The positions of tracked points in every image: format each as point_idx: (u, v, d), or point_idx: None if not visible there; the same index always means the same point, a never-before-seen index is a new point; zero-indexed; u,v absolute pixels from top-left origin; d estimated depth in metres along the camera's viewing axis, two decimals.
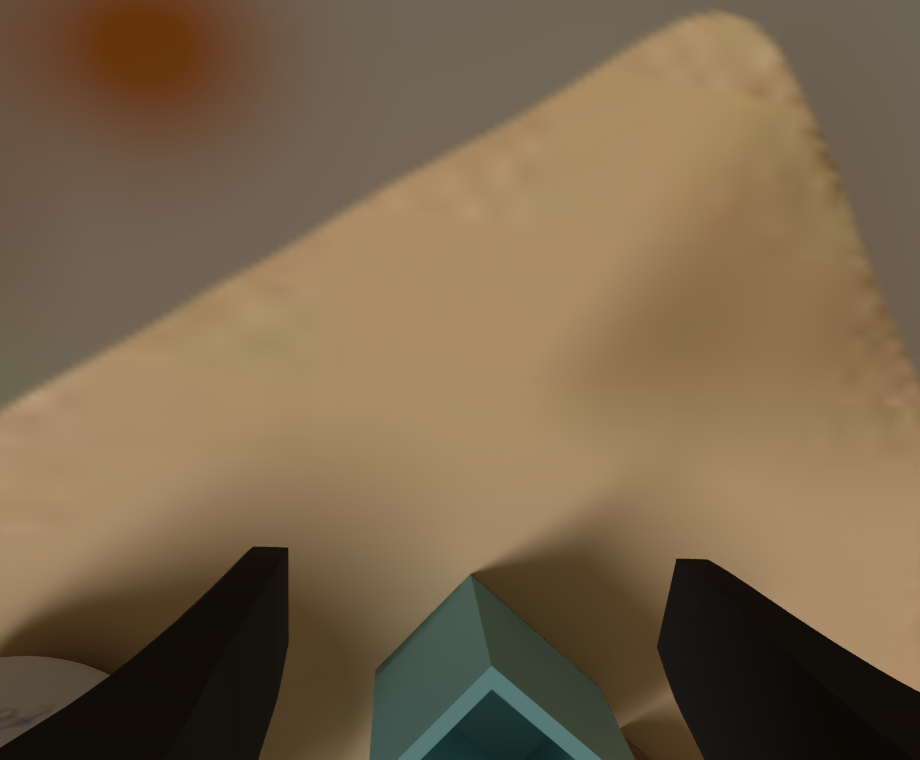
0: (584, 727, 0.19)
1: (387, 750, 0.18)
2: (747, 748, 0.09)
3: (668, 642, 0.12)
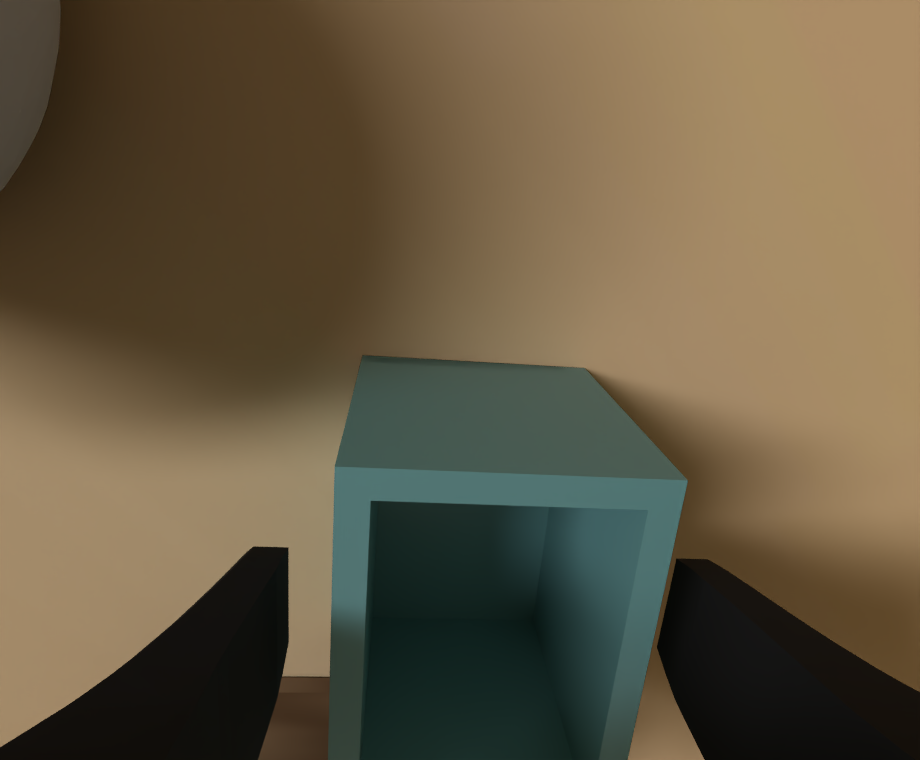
0: None
1: (394, 446, 0.09)
2: (747, 748, 0.09)
3: (668, 642, 0.12)
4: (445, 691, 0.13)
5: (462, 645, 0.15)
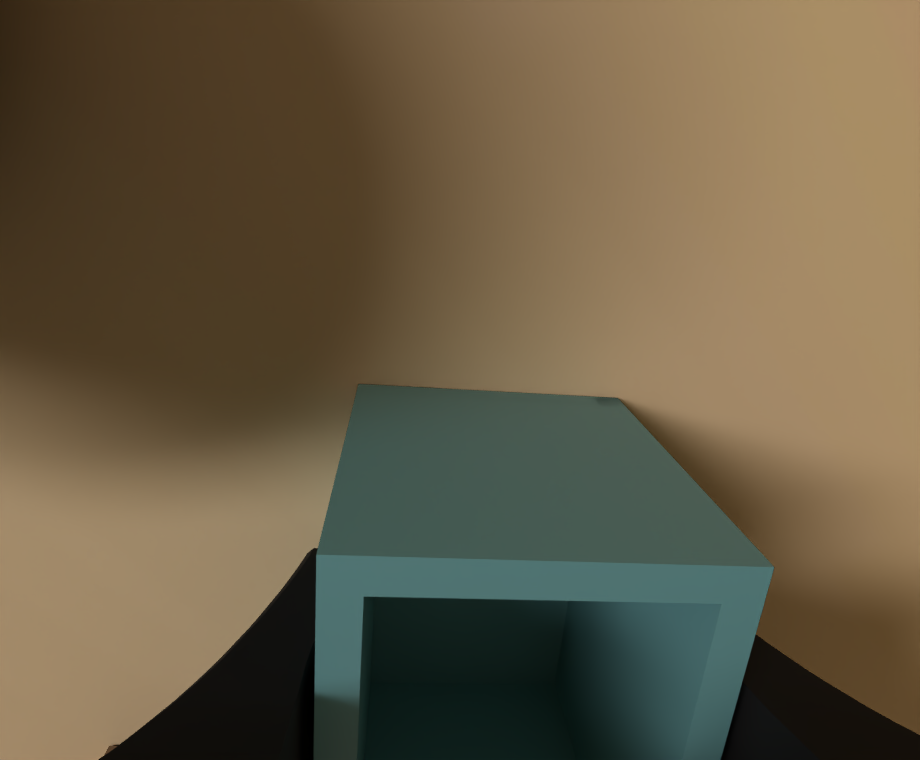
0: None
1: (395, 519, 0.07)
2: None
3: None
4: None
5: (474, 718, 0.13)
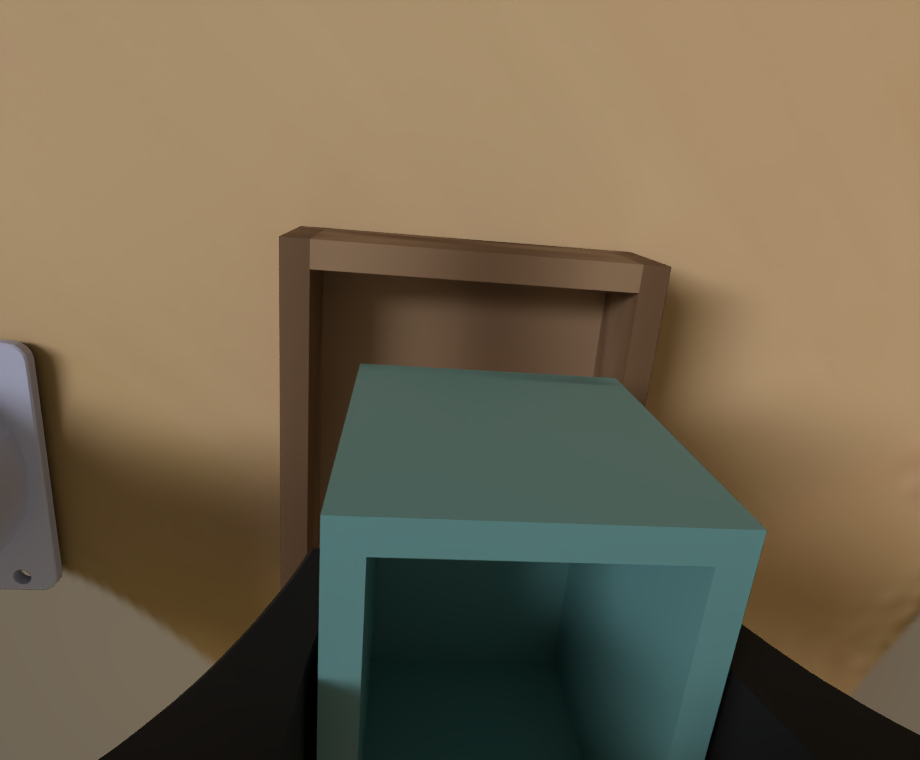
0: None
1: (397, 484, 0.07)
2: None
3: None
4: (455, 753, 0.11)
5: (474, 694, 0.13)
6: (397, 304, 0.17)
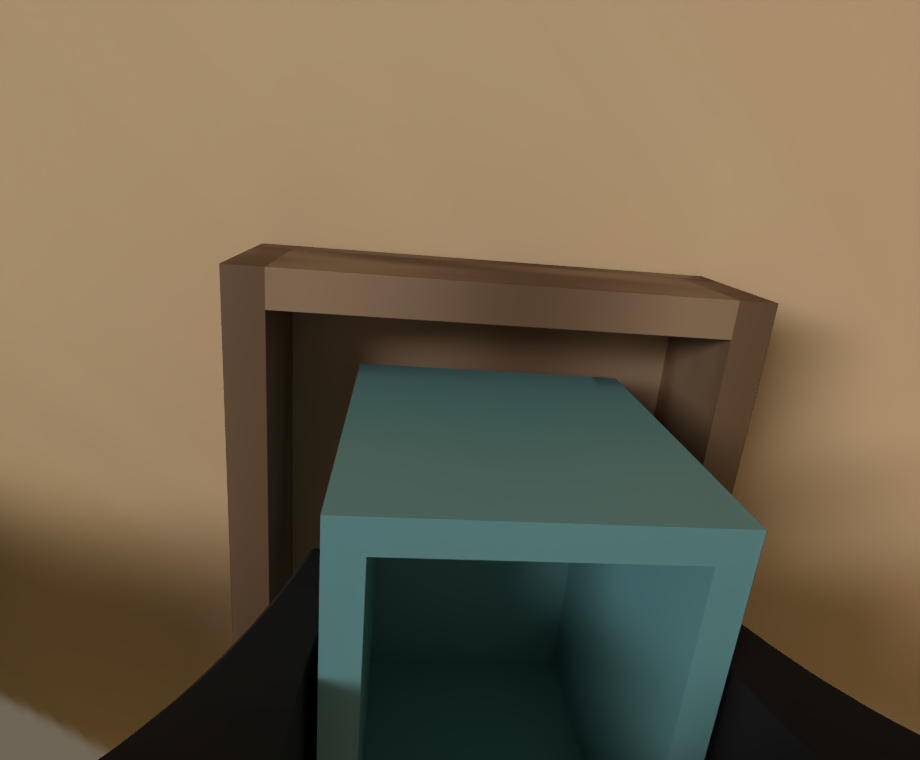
0: None
1: (397, 484, 0.07)
2: None
3: None
4: (455, 753, 0.11)
5: (474, 694, 0.13)
6: (392, 347, 0.13)
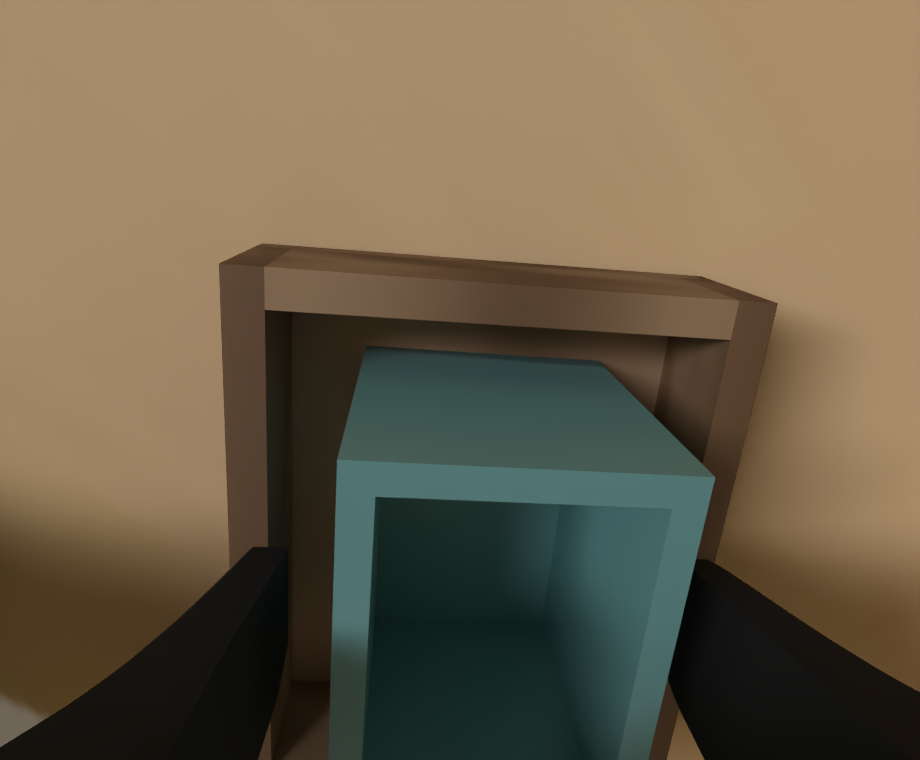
0: None
1: (401, 438, 0.09)
2: (747, 748, 0.09)
3: None
4: (451, 697, 0.13)
5: (468, 648, 0.14)
6: None
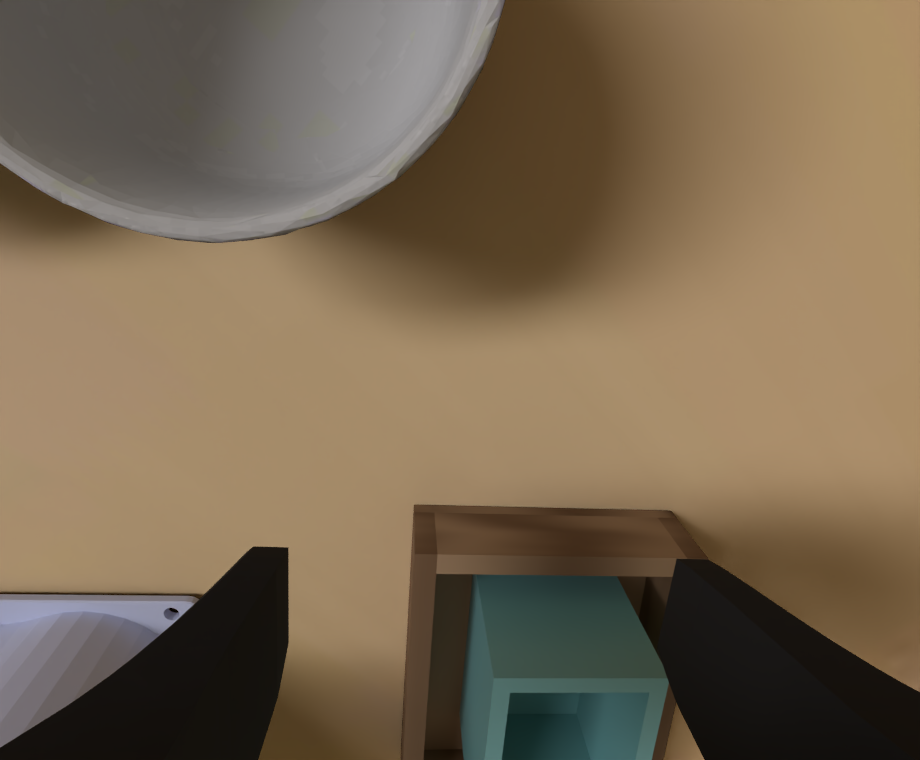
0: None
1: (517, 658, 0.18)
2: (747, 748, 0.09)
3: (668, 642, 0.12)
4: None
5: (533, 734, 0.23)
6: None
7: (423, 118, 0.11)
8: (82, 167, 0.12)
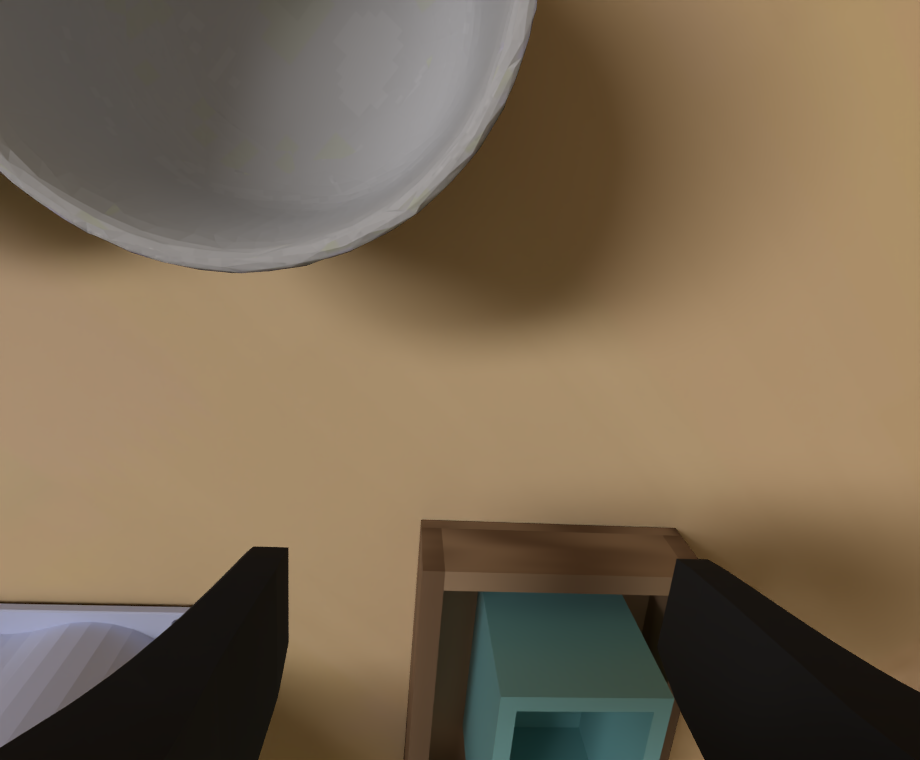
0: None
1: (524, 676, 0.18)
2: (747, 748, 0.09)
3: (668, 642, 0.12)
4: None
5: (536, 747, 0.23)
6: None
7: (444, 154, 0.11)
8: (106, 196, 0.12)
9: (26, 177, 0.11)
